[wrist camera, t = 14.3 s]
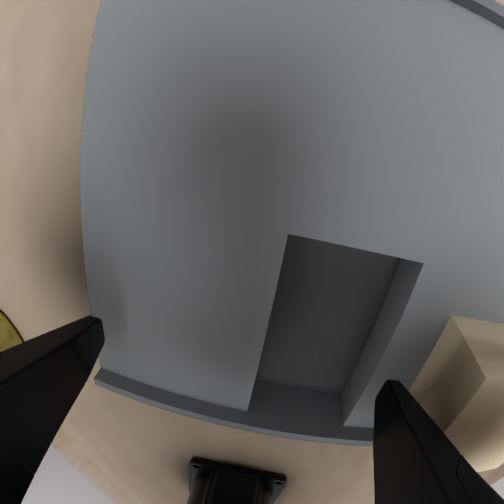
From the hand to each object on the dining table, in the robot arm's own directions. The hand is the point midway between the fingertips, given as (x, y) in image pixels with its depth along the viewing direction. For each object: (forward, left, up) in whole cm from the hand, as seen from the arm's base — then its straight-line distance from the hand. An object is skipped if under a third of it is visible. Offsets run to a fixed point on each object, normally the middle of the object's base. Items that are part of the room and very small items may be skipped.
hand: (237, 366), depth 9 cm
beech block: (-1, -9, -1) cm, 9 cm away
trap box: (+4, -8, -3) cm, 9 cm away
